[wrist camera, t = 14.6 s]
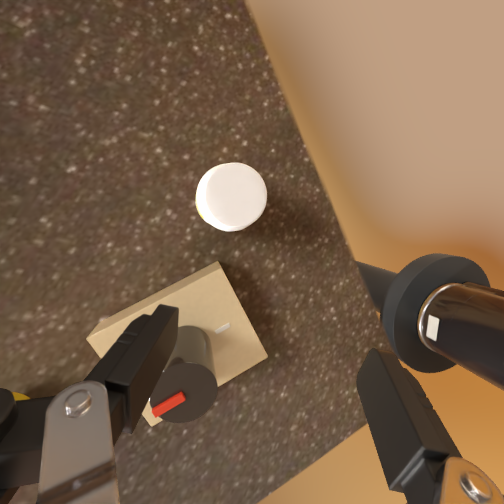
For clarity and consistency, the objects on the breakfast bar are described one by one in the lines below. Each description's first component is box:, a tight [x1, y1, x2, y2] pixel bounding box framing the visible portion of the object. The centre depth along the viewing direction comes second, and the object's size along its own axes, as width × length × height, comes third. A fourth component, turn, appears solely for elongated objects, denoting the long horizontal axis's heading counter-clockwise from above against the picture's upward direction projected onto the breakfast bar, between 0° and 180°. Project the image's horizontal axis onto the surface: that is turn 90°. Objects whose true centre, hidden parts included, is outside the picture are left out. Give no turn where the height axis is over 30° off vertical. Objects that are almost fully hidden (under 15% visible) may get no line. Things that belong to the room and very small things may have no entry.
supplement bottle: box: [195, 163, 267, 231], centre depth 19 cm, size 5×5×8 cm
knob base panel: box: [86, 261, 268, 427], centre depth 23 cm, size 12×10×3 cm
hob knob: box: [149, 326, 218, 423], centre depth 19 cm, size 4×4×6 cm
